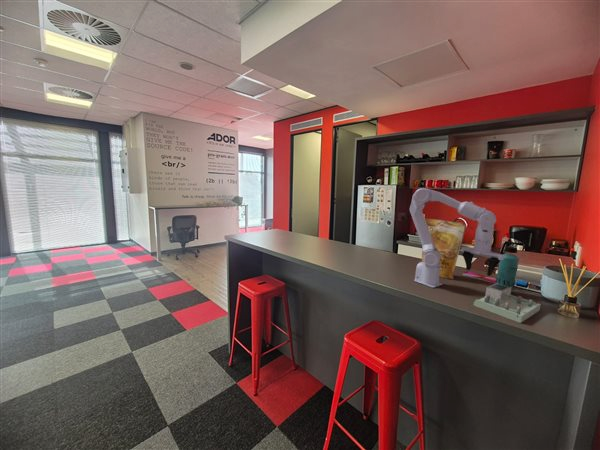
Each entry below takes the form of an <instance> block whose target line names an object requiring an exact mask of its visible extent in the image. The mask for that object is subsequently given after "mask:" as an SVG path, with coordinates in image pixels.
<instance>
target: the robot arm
mask: <svg viewBox="0 0 600 450" xmlns="http://www.w3.org/2000/svg"><path fill="white" fill-rule="evenodd" d="M411 197H412V198H411V203H410V205H409V213H410V215H411V219H412V221H413V224H414V226H415V229H416V233H417V235H418V238H419V241H420V244H421V246H422V247H423V254H424V257H423V260H424V262H422V261H419V262H418V263H417V265H416V268H415V273H414V274H415V275H414V276H415V277H414V280H413V281H414V282H416V283H419V284H422V285H424V286H426V287H430V288H432V289H434V288H436V287H440V286H442V285H443V283H442V282H440V277H439V276H440V267H441V265H440V264H439V260H440V259H441V253H440V251H438V250H437V248H436V246H435V244H434V242H433V240H432V237H431V234H430V231H429V229H428V226H427V223H426V220H425V219H426V218H425V215H424V213H423V209H424V208H425V207H426V205H427V204H428V203H429V202H440V203H442V204H445V205H446V206H449V207H452V208H454V209H456V210H457V213H458V214H460V215H461V216H463V217H466V218H468V219H469V220H472V221H477V227H476V229H475V236H474V242H473V247H468V246H467V247H466V246H461V248H460V252H461V254H462V257H463V259H464V262H465V267H466V270H467V271H469V270H471V269H472V264H473V260H474V259H473V258H474V255H478V256H482V257H486V258H488V260H487V261H488V264H487V265H488V266H487V273H486V276H488V277H491V276H492V274H493V272H494V270H495V268H496V266H497V265H499V262H500V261H501V260H503V258H504V255H503V254H502V253H498V252H494V251H491V249H492V244H493V237H494V228H495V224H496V222H497V217H496V215H495V213H493V212H492V211H491V210H487V209H486V207H481V206H478V205H476V204H474V202H473V201H470V202H469V201H463V202H461V201H458V200H457V199H455V198H453V197H450V196H448V195H447V194H444V193H442V192H440V191H436V190H433V189H430V188H428V187H427V188H425V187H420V188H418V189H417V190H415V192H414V193H413V195H412V196H411ZM422 247H421V248H422Z"/></svg>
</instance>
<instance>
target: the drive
mask: <svg viewBox="0 0 600 450" xmlns="http://www.w3.org/2000/svg"><path fill="white" fill-rule="evenodd" d="M485 289H486V290H485V295H484V297H485V296H488V301H487V302H489V303H492V304H494V302H495V299H498V306H500V305H502V304H504V303H506V302H508V301H509V299H510V293H511V294H512V291H511V287H509V286H506V285H502V284H499V283H496V284H494V283H493V284H491V285H488V286H486V288H485Z"/></svg>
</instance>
